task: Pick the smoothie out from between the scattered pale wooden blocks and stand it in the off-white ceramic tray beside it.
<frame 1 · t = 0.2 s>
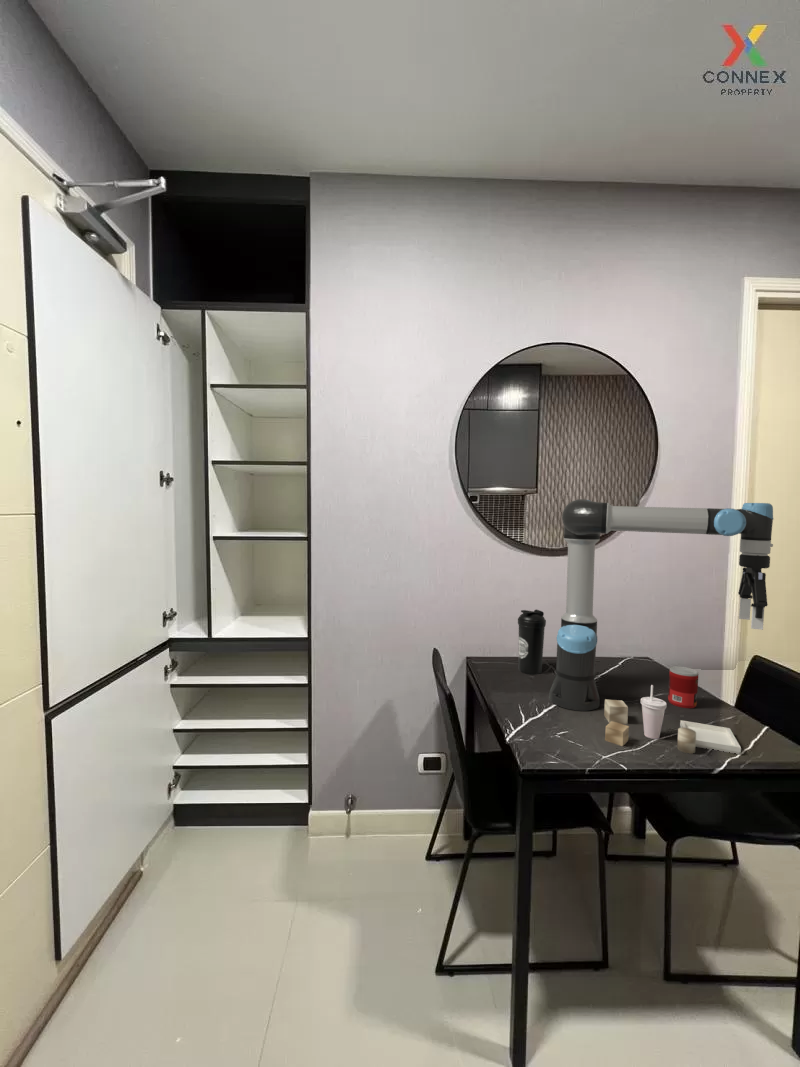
hand: (750, 623, 149), 28 cm above the table, fingers open, 13 cm apart
birch cube: (615, 719, 144), on the table
canned food: (682, 704, 157), on the table
birch dowel: (686, 749, 127), on the table
oak block: (616, 740, 131), on the table
tray: (708, 739, 133), on the table
water bottle: (529, 671, 186), on the table
smoothie: (651, 736, 134), on the table
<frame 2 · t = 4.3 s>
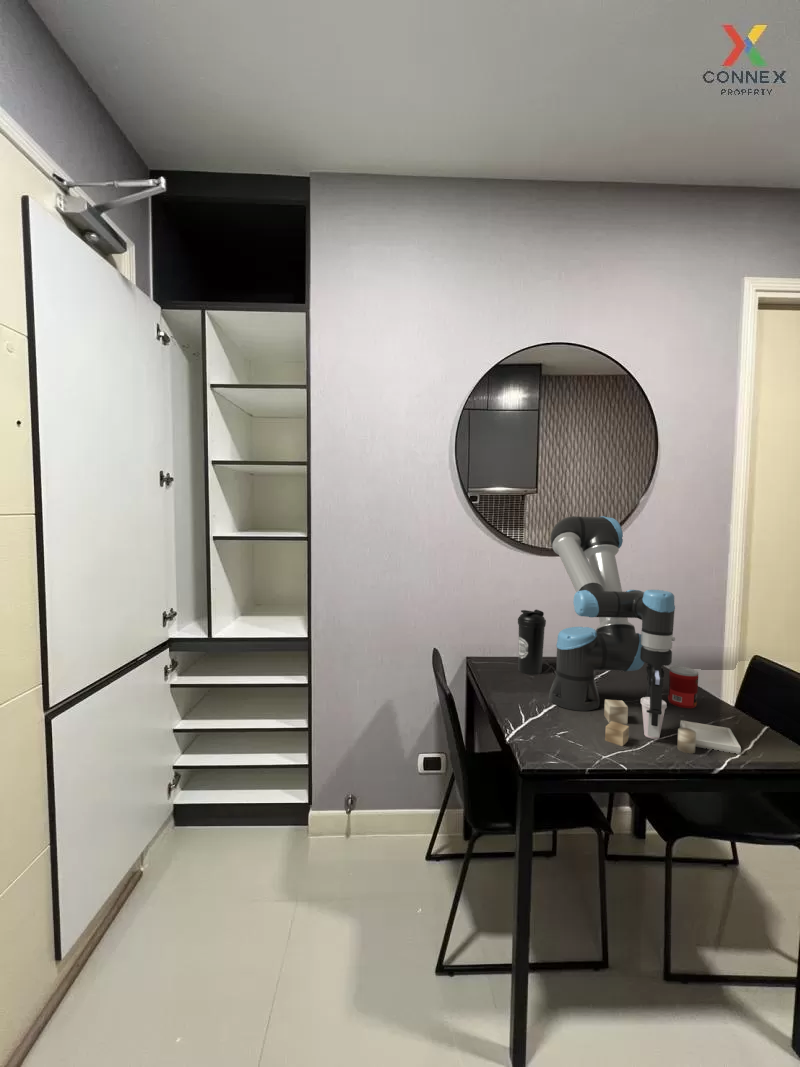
hand: (652, 730, 134), 1 cm above the table, fingers closed on smoothie, 6 cm apart
smoothie: (651, 736, 134), on the table, touching gripper
everything else where it was.
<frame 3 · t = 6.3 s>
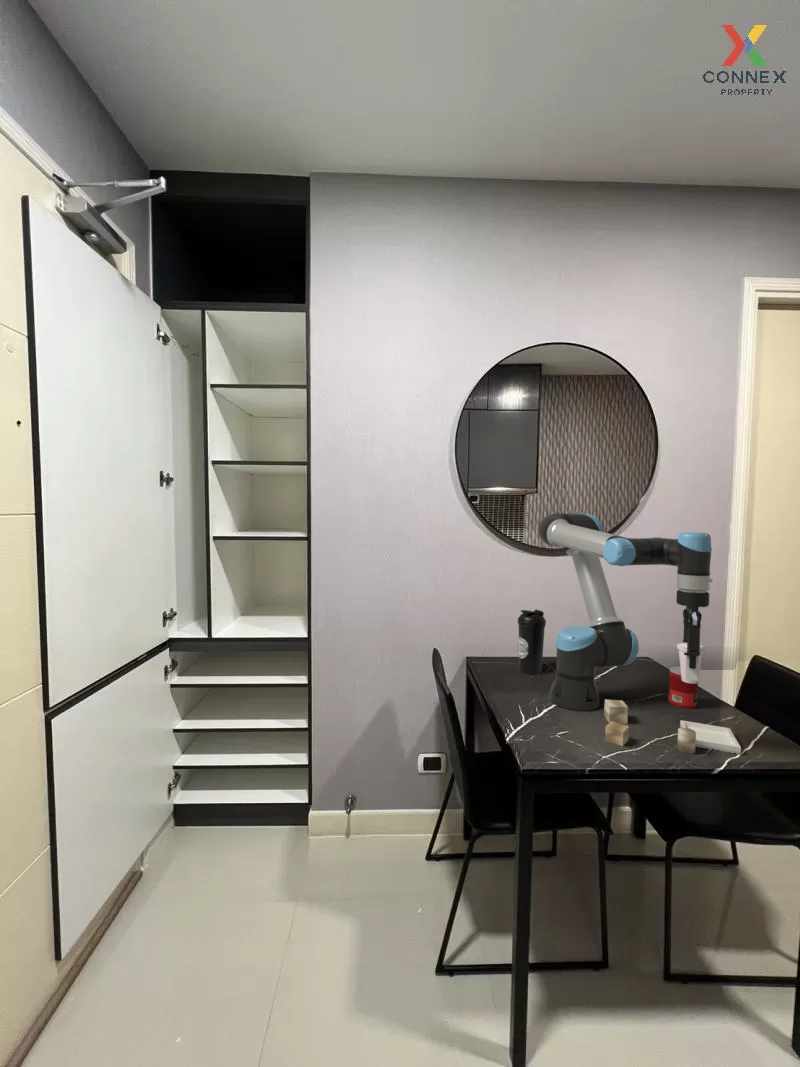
hand: (689, 676, 131), 17 cm above the table, fingers closed on smoothie, 6 cm apart
smoothie: (689, 681, 132), point 16 cm above the table, touching gripper
everything else where it was.
when the fingers open (4 cm above the table, at t = 8.5 s): smoothie drops 2 cm, resting on tray.
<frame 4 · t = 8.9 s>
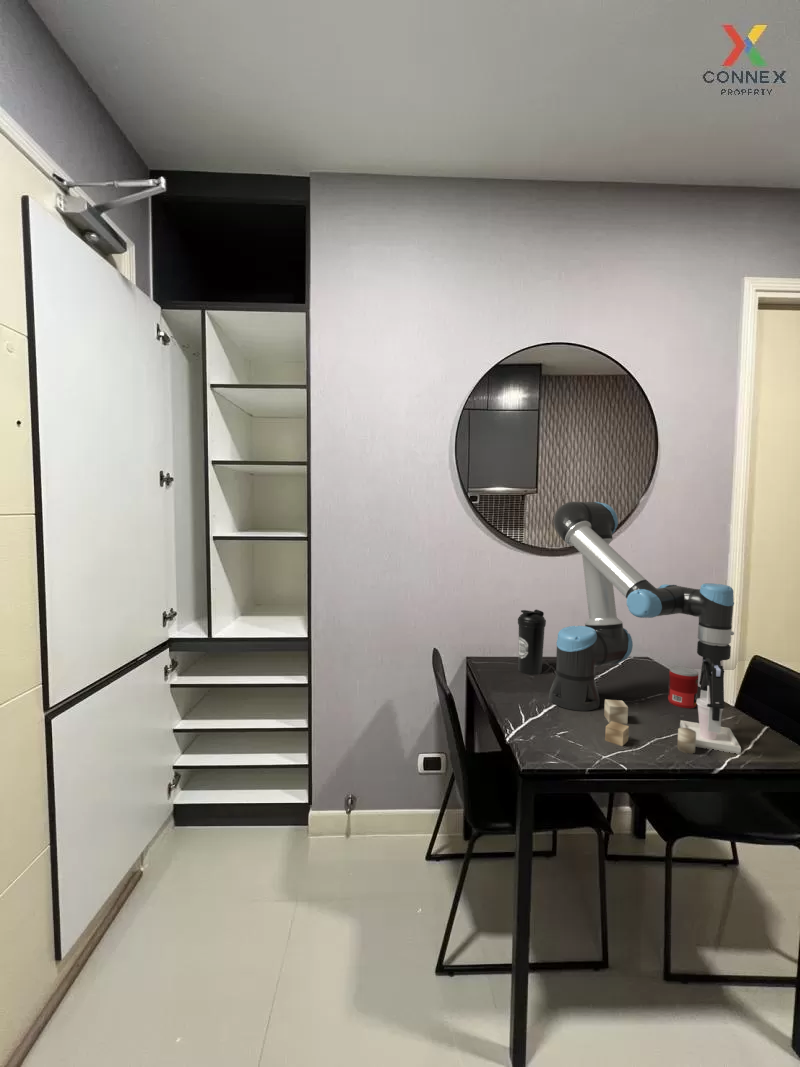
hand: (709, 722, 132), 5 cm above the table, fingers open, 11 cm apart
smoothie: (708, 737, 133), resting on tray
everything else where it was.
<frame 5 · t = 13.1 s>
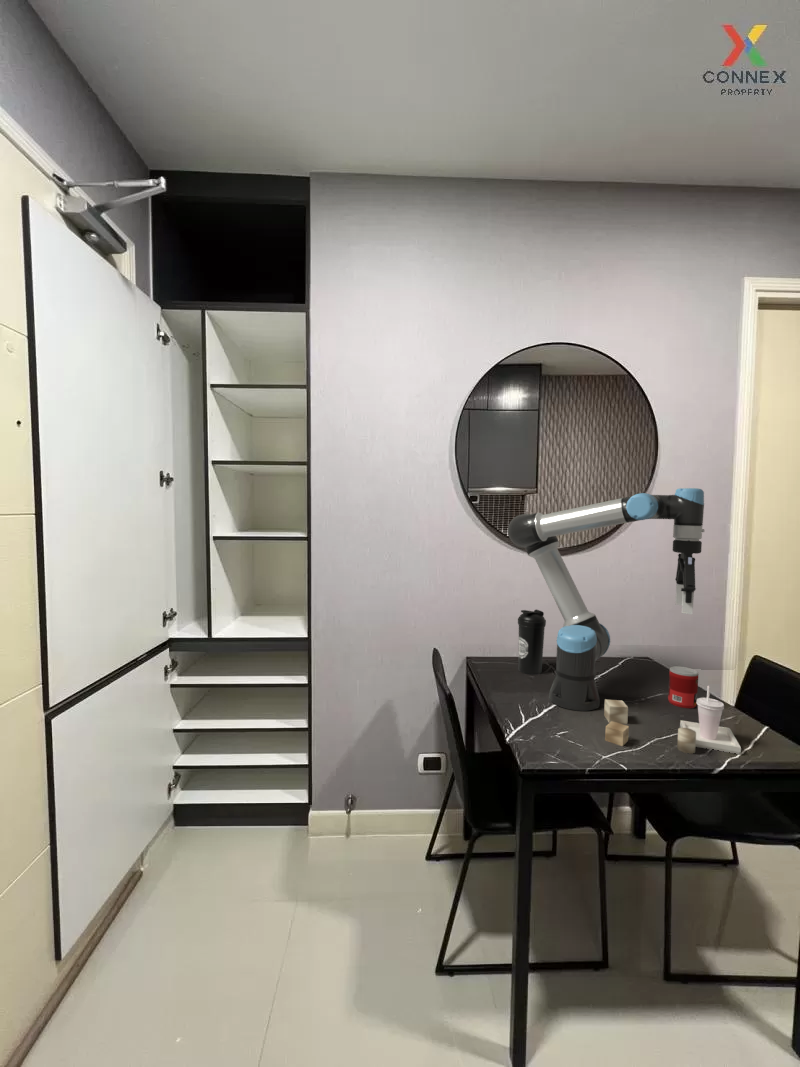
hand: (683, 609, 149), 32 cm above the table, fingers open, 13 cm apart
nothing on the table moved.
at the end: smoothie inside the target area on the tray (0.4 cm from its centre), point 0.4 cm above the tray's base; smoothie tilted 0°; the gripper is holding nothing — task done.
